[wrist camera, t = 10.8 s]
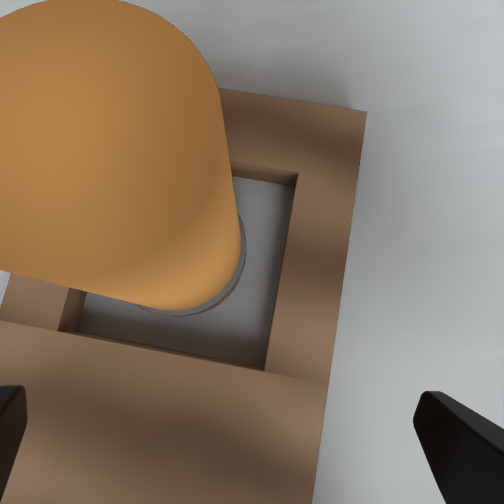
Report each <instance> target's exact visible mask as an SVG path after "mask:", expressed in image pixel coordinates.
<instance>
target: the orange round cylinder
mask: <svg viewBox="0 0 504 504" xmlns="http://www.w3.org/2000/svg"><path fill="white" fill-rule="evenodd" d="M245 258H246V238H245V232H244V227H243V224H242V221H241V218H240V216H239V214H238V212H237V208H236V201H235V194H234V187H233V181H232V174H231V167H230V161H229V154H228V147H227V141H226V134H225V127H224V120H223V114H222V107H221V100H220V95H219V92H218V89H217V85H216V82H215V79H214V77H213V75H212V73H211V70H210V68H209V66H208V64H207V63H206V61H205V59H204V58H203V56H202V55H201V53H200V52H199V50H198V49H197V48H196V47H195V46H194V44H193V43H192V42H191V41H190V40H189V39H188V38H187V36H185V35H184V34H183V33H182V32H181V31H180V30H179V29H177V28H176V27H175V26H174V25H173V24H171V23H169V22H168V21H166V20H165V19H163V18H162V17H160V16H159V15H157V14H155V13H153V12H151V11H149V10H146V9H144V8H142V7H139V6H136V5H133V4H130V3H127V2H124V1H119V0H48V1H44V2H40V3H36V4H32V5H30V6H27V7H24V8H21V9H18V10H16V11H14V12H12V13H10V14H8V15H6V16H4V17H1V18H0V270H3V271H6V272H10V273H14V274H17V275H21V276H25V277H29V278H33V279H37V280H42V281H46V282H50V283H54V284H58V285H62V286H66V287H70V288H74V289H78V290H82V291H86V292H90V293H94V294H98V295H103V296H107V297H111V298H115V299H119V300H123V301H127V302H131V303H133V304H135V305H137V306H138V307H140V308H142V309H144V310H147V311H149V312H153V313H156V314H161V315H166V316H189V315H194V314H197V313H201V312H205V311H207V310H210V309H212V308H214V307H215V306H217V305H219V304H220V303H221V302H223V301H224V300H225V299H226V298H227V297H228V296H229V295H230V294H231V292H232V291H233V290H234V288H235V287H236V285H237V283H238V281H239V279H240V276H241V273H242V271H243V268H244V264H245Z"/></svg>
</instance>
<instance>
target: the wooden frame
mask: <svg viewBox="0 0 504 504" xmlns="http://www.w3.org/2000/svg"><path fill="white" fill-rule="evenodd" d="M217 89H218V92H219V95H220V100H221V107H222V114H223V120H224V127H225V134H226V141H227V147H228V154H229V161H230V167H231V174H232V176H237V177H243V178H249V179H255V180H261V181H266V182H272V183H278V184H284V185H290V186H295V190H294V195H293V201H292V207H291V213H290V218H289V224H288V230H287V236H286V241H285V247H284V253H283V259H282V264H281V270H280V276H279V282H278V287H277V293H276V299H275V305H274V310H273V316H272V322H271V328H270V333H269V339H268V345H267V351H266V356H265V362H264V368H261V367H255V366H250V365H245V364H240V363H235V362H230V361H225V360H219V359H214V358H209V357H204V356H199V355H194V354H189V353H183V352H178V351H173V350H168V349H163V348H158V347H153V346H147V345H142V344H137V343H132V342H127V341H122V340H117V339H111V338H106V337H101V336H96V335H91V334H86V333H81V332H76V329H77V325H78V322H79V318H80V314H81V311H82V307H83V303H84V299H85V296H86V291H82V290H78V289H74V288H70V287H66V286H62V285H58V284H54V283H50V282H46V281H42V280H37V279H33V278H29V277H25V276H21V275H17V274H14V273H11V276H10V279H9V282H8V285H7V289H6V292H5V295H4V298H3V301H2V305H1V308H0V386H1V385H22V386H24V387H25V390H26V400H27V415H28V418H27V425H26V429H25V432H24V435H23V438H22V441H21V444H20V447H19V450H18V453H17V456H16V459H15V462H14V465H13V468H12V471H11V474H10V477H9V479H8V482H7V485H6V488H5V491H4V494H3V497H2V500H1V502H0V504H312V498H313V491H314V483H315V476H316V469H317V462H318V455H319V448H320V441H321V434H322V427H323V420H324V413H325V406H326V399H327V391H328V384H329V377H330V370H331V363H332V356H333V349H334V342H335V335H336V328H337V321H338V314H339V307H340V299H341V292H342V285H343V278H344V271H345V264H346V257H347V250H348V243H349V236H350V229H351V222H352V214H353V207H354V200H355V193H356V186H357V179H358V172H359V165H360V158H361V151H362V144H363V137H364V130H365V122H366V115H367V112H365V111H359V110H353V109H347V108H340V107H334V106H328V105H322V104H315V103H309V102H303V101H297V100H291V99H284V98H278V97H272V96H266V95H259V94H253V93H247V92H241V91H234V90H228V89H222V88H217Z"/></svg>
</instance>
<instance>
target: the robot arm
mask: <svg viewBox="0 0 504 504" xmlns="http://www.w3.org/2000/svg"><path fill="white" fill-rule="evenodd" d="M27 418H28V415H27V400H26V390H25V387H24V386H22V385H1V386H0V502H1V500H2V497H3V494H4V491H5V488H6V485H7V482H8V479H9V477H10V474H11V471H12V468H13V465H14V462H15V459H16V456H17V453H18V450H19V447H20V444H21V441H22V438H23V435H24V432H25V429H26V425H27ZM413 424H414V428H415V431H416V433H417V436H418V438H419V441H420V443H421V446H422V448H423V451H424V453H425V456H426V458H427V461H428V463H429V466H430V468H431V471H432V473H433V476H434V478H435V481H436V483H437V485H438V488H439V490H440V492H441V494H442V496H443V498H444V500H445V502H446V504H504V429H503V428H501V427H500V426H498V425H496V424H495V423H493V422H491V421H490V420H488V419H486V418H485V417H483V416H481V415H479V414H478V413H476V412H474V411H473V410H471V409H469V408H468V407H466V406H464V405H463V404H461V403H459V402H458V401H456V400H454V399H453V398H451V397H449V396H448V395H446V394H444V393H443V392H440V391H425V392H424V393H423V394H422V395H421V397H420V400H419V403H418V405H417V408H416V411H415V414H414V417H413Z"/></svg>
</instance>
